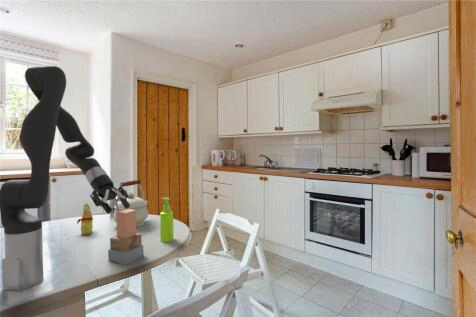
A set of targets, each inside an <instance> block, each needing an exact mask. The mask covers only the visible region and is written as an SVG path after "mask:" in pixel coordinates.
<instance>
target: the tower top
mask: <svg viewBox="0 0 476 317" xmlns="http://www.w3.org/2000/svg"><path fill="white" fill-rule="evenodd" d="M142 242H143V241H142V233H137V232H136V235H135V236H132V237H130V238H127V239H125V238H120V237H117V234H116V235H114V236H112V237H110V238H109V244H110V245H109V246H110V247H109V249H111V250H116V251H122V252H128V251H130V250H132V249H134V248H136V247H138V246H140V245H143V244H142Z"/></svg>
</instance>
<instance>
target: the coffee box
mask: <svg viewBox="0 0 476 317" xmlns="http://www.w3.org/2000/svg"><path fill="white" fill-rule="evenodd" d="M124 190H125V192H126V193H127V194H128V192H127V190H126V189H124ZM124 196H125V195H124ZM120 198H121V197H120ZM121 199H122V198H121ZM117 202H118V200H117ZM109 206H110V207H111V209H112V212H111V213H109V215H110V217H111V218H113V214H114V210H115V208H114V206H115V199H113V200H109Z"/></svg>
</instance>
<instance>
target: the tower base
mask: <svg viewBox="0 0 476 317" xmlns="http://www.w3.org/2000/svg"><path fill="white" fill-rule="evenodd" d="M107 250H108V251H107V254H108V256H107V257H108V259H107V260H108V261H110V262H113V261H114V262H113V263H117V262H118V263H119V264H122V265H128V264H129V263H131V262H134V261H135V260H137V259H139V258H141V257H143V256H144V244H142V245H140V246H138V247H136V248H134V249H132V250H130V251H128V252H122V251H116V250H111V249H110V248H108V249H107Z"/></svg>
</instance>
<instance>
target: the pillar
mask: <svg viewBox="0 0 476 317" xmlns="http://www.w3.org/2000/svg"><path fill="white" fill-rule="evenodd" d="M116 216H117V223H116V235H117V237H120V238H125V239H127V238H130V237H132V236H135V235H136V233H137V227H136V210H132V209H124V210H120V211H117V212H116Z"/></svg>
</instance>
